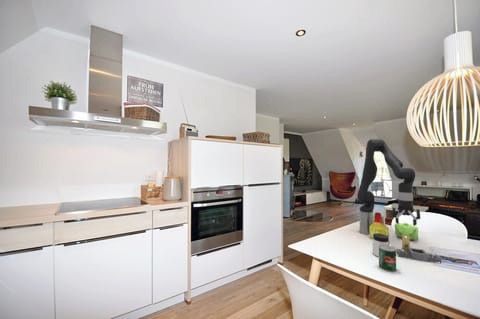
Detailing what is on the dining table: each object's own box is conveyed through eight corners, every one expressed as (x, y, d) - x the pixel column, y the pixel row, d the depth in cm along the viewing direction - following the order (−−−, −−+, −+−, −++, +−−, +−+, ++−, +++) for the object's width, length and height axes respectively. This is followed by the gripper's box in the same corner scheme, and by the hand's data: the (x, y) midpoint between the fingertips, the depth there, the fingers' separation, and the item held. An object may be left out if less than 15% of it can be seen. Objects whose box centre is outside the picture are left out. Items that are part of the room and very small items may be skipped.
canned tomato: (390, 273, 112) (390, 252, 112) (375, 266, 119) (375, 246, 119) (399, 269, 115) (399, 249, 115) (384, 263, 122) (384, 244, 122)
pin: (403, 252, 136) (402, 236, 136) (401, 249, 140) (401, 234, 140) (410, 253, 135) (410, 237, 135) (409, 250, 138) (408, 235, 138)
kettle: (417, 243, 149) (417, 227, 149) (392, 239, 159) (392, 223, 159) (419, 238, 160) (419, 222, 160) (396, 233, 170) (396, 219, 170)
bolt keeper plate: (398, 257, 129) (398, 250, 129) (396, 252, 136) (396, 245, 136) (441, 264, 120) (441, 256, 120) (436, 258, 127) (436, 251, 127)
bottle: (368, 238, 160) (368, 211, 160) (370, 236, 164) (370, 210, 164) (387, 243, 151) (387, 214, 151) (389, 240, 155) (389, 213, 155)
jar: (374, 257, 130) (374, 237, 130) (370, 251, 138) (370, 232, 138) (391, 259, 127) (391, 238, 127) (387, 253, 135) (386, 234, 135)
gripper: (393, 199, 137) (393, 224, 137) (421, 201, 131) (421, 227, 131) (390, 197, 144) (391, 221, 144) (417, 199, 138) (418, 224, 137)
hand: (405, 224), depth 137 cm, fingers open, 8 cm apart
